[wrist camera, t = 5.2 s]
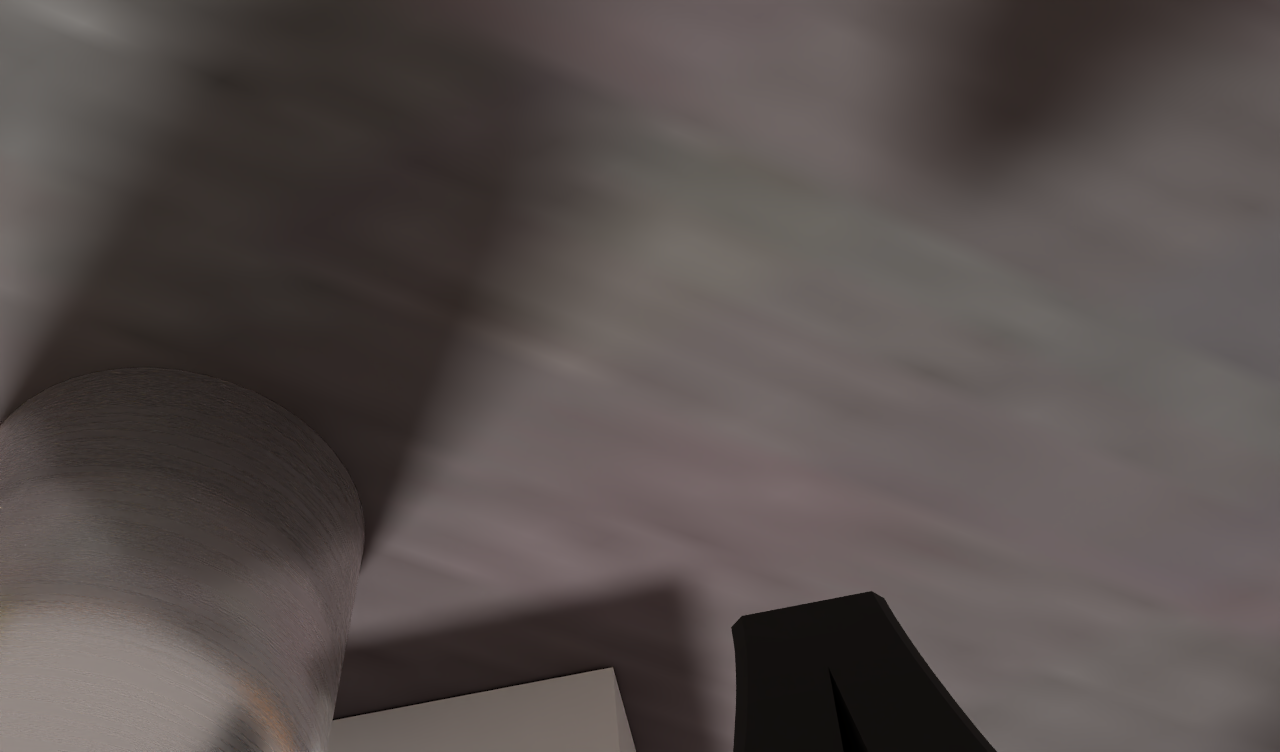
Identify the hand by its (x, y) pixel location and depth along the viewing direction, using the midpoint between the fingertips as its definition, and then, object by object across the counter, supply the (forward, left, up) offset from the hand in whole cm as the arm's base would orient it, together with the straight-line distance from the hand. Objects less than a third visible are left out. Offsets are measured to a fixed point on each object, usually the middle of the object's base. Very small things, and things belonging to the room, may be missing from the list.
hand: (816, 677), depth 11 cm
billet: (+7, 0, -5) cm, 9 cm away
